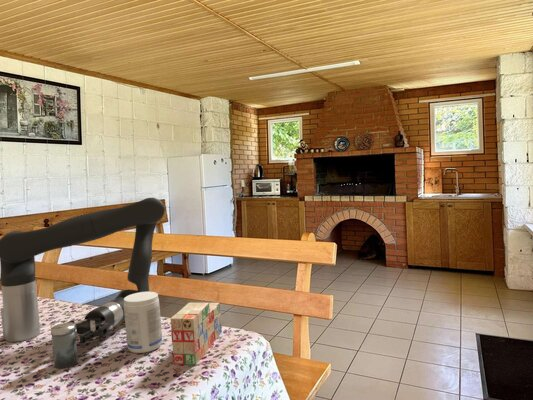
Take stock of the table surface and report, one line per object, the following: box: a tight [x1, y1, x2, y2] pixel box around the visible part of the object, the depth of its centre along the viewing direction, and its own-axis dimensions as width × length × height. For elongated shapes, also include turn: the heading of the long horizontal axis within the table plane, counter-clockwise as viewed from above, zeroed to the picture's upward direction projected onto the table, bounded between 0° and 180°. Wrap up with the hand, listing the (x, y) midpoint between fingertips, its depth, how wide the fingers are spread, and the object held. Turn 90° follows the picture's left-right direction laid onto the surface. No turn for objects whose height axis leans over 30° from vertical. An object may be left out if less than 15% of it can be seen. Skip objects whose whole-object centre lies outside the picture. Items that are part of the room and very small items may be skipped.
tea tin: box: [50, 322, 79, 370], centre depth 103 cm, size 6×6×10 cm
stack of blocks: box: [170, 302, 223, 366], centre depth 109 cm, size 21×6×12 cm, turn 169°
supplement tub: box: [124, 291, 163, 354], centre depth 111 cm, size 10×10×15 cm
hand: (66, 339), depth 104 cm, fingers open, 8 cm apart
